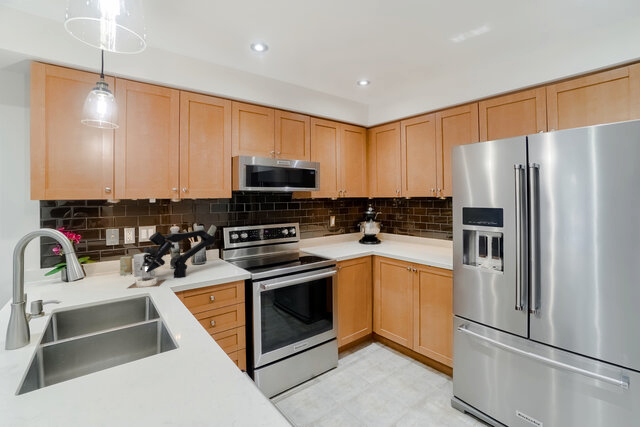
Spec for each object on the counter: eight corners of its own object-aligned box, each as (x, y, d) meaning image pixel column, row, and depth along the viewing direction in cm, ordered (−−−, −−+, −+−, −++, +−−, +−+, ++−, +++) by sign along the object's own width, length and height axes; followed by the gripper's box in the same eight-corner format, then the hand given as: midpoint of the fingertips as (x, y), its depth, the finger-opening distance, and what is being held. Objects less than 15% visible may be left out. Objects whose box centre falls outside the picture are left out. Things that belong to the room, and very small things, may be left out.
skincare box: (120, 275, 199) (119, 257, 199) (122, 274, 204) (121, 256, 203) (130, 274, 201) (130, 257, 201) (132, 273, 205) (132, 256, 205)
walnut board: (166, 280, 184) (166, 279, 184) (158, 287, 169) (158, 286, 169) (136, 282, 180) (136, 281, 180) (126, 289, 165) (126, 288, 165)
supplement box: (147, 273, 204) (146, 252, 203) (154, 275, 199) (154, 253, 199) (133, 276, 196) (132, 254, 195) (141, 278, 191) (140, 255, 191)
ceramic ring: (159, 280, 181) (159, 276, 180) (153, 285, 170) (153, 280, 170) (140, 282, 178) (140, 277, 178) (132, 287, 168) (132, 282, 167)
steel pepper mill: (152, 282, 177) (151, 262, 176) (149, 284, 172) (149, 263, 172) (144, 283, 176) (143, 262, 175) (141, 285, 171) (140, 264, 171)
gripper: (146, 240, 182) (126, 261, 174) (158, 243, 170) (138, 265, 162) (160, 251, 188) (141, 271, 180) (172, 254, 177) (154, 276, 168)
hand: (143, 271), depth 173 cm, fingers open, 9 cm apart
